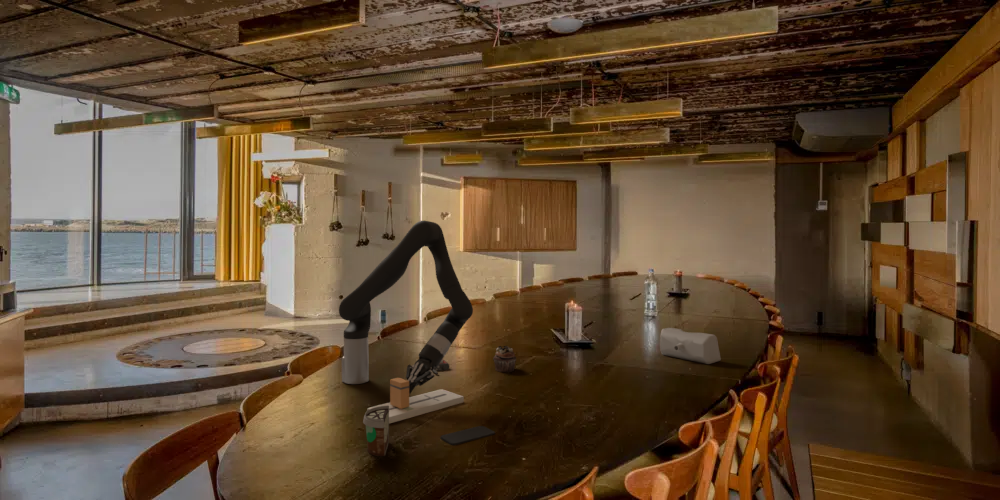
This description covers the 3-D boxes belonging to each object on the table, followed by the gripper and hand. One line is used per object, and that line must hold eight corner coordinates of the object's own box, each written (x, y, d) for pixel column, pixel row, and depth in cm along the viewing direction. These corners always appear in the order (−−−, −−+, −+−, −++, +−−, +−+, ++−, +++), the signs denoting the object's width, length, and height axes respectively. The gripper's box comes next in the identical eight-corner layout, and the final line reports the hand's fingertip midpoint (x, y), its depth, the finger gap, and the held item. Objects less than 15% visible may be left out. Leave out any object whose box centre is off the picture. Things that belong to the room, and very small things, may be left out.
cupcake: (520, 370, 230) (520, 346, 230) (501, 374, 225) (501, 349, 224) (507, 365, 238) (507, 342, 238) (488, 369, 232) (488, 345, 232)
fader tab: (398, 402, 181) (398, 377, 180) (409, 406, 176) (409, 381, 176) (390, 404, 178) (389, 379, 178) (400, 408, 174) (400, 383, 174)
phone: (496, 432, 160) (452, 444, 151) (496, 435, 160) (452, 447, 151) (482, 425, 165) (438, 435, 156) (482, 427, 165) (438, 438, 156)
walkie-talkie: (421, 365, 240) (434, 377, 221) (421, 355, 240) (434, 366, 221) (441, 363, 243) (455, 374, 225) (441, 353, 243) (455, 364, 225)
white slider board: (441, 394, 197) (441, 388, 197) (463, 402, 188) (463, 396, 188) (367, 414, 176) (367, 407, 176) (388, 423, 167) (388, 417, 167)
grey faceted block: (652, 356, 255) (652, 330, 254) (672, 351, 265) (672, 326, 264) (701, 367, 236) (702, 338, 235) (721, 361, 246) (721, 333, 245)
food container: (367, 440, 154) (366, 405, 154) (389, 440, 155) (389, 404, 154) (359, 459, 142) (359, 420, 142) (383, 458, 142) (383, 420, 142)
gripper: (417, 340, 190) (386, 382, 182) (441, 346, 180) (410, 391, 172) (429, 353, 193) (400, 395, 185) (453, 360, 184) (424, 404, 176)
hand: (405, 393), depth 179 cm, fingers closed
